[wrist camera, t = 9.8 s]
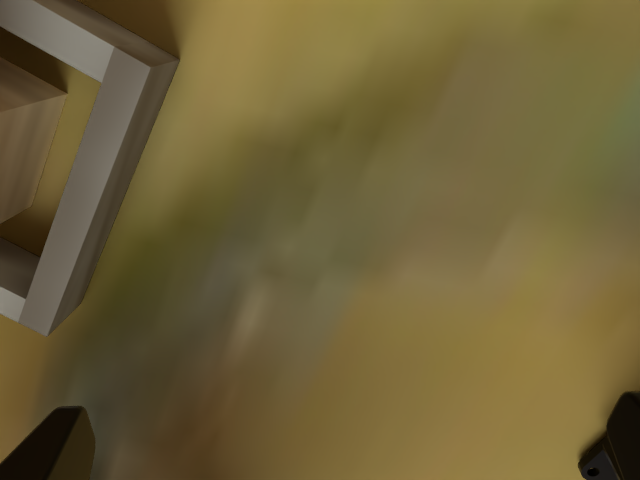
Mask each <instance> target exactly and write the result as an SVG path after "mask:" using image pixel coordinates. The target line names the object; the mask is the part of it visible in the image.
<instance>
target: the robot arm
mask: <svg viewBox="0 0 640 480" xmlns="http://www.w3.org/2000/svg"><path fill="white" fill-rule="evenodd" d="M94 453H95V436H94V433H93V430H92V427H91V423H90V420H89V417H88V414H87V411H86V409H85V408H84V407H82V406H62V407H58V408H56V409H54V410H53V411H52V412H51V413H50V414H49V415H48V416H47V417H46V418H45V419H44V420H43V421H42V422H41V423H40V424H39V425H38V426H37V427H36V428H35V429H34V430H33V431H32V432H31V433H30V434H29V435H28V436H27V437H26V438H25V439H24V440H23V441H22V442H21V443H20V444H19V445H18V446H17V447H16V448H15V449H14V450H13V451H12V452H11V453H10V454H9V455H8V456H7V457H6V458H5V459H4V460H3V461H2V462H1V463H0V480H89V479H90V474H91V469H92V464H93V459H94ZM578 468H579V470H580V472H581V475H582V477H583V478H585V479H586V480H640V391H631V392H625V393H623V394H622V395H621V396H620V398H619V400H618V402H617V403H616V405H615V407H614V409H613V411H612V413H611V415H610V417H609V418H608V421H607V436H606V437H605V438H604V439H603V440H602V441H601V442H600V443H599V444H597V445H596V446H595V447H594V448H593V449H592V450H591V451H590V452H589V453H587V454H586V455H585V456H584V457H583V458H582V459H581V460H580V461H579V463H578ZM590 468H593V469H590Z"/></svg>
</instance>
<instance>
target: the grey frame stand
mask: <svg viewBox="0 0 640 480" xmlns="http://www.w3.org/2000/svg"><path fill="white" fill-rule="evenodd" d="M0 27H2V28H4V29H6V30H8V31H9V32H11V33H13V34H15V35H16V36H18V37H20V38H22V39H24V40H25V41H27V42H29V43H31V44H33V45H34V46H36V47H38V48H40V49H42V50H43V51H45V52H47V53H49V54H50V55H52V56H54V57H56V58H58V59H59V60H61V61H63V62H65V63H67V64H68V65H70V66H72V67H74V68H76V69H77V70H79V71H81V72H83V73H84V74H86V75H88V76H90V77H92V78H93V79H95V80H97V81H99V82H101V86H100V89H99V92H98V95H97V97H96V100H95V103H94V106H93V109H92V112H91V115H90V117H89V120H88V123H87V126H86V129H85V132H84V135H83V138H82V140H81V143H80V146H79V149H78V152H77V155H76V158H75V160H74V163H73V166H72V169H71V172H70V175H69V178H68V180H67V183H66V186H65V189H64V192H63V195H62V198H61V200H60V203H59V206H58V209H57V212H56V215H55V218H54V221H53V223H52V226H51V229H50V232H49V235H48V238H47V241H46V243H45V246H44V249H43V252H42V255H41V258H40V257H38V256H36V255H34V254H32V253H30V252H28V251H26V250H24V249H22V248H20V247H18V246H16V245H14V244H12V243H10V242H8V241H7V240H5V239H3V238H1V237H0V314H2V315H4V316H6V317H8V318H10V319H12V320H14V321H16V322H18V323H20V324H22V325H24V326H26V327H28V328H30V329H32V330H34V331H36V332H38V333H40V334H42V335H44V336H46V337H47V336H48V335H49V334H50V333H51V332H52V331H53V330H54V329H55V328H56V327H57V326H58V325H59V324H60V323H61V322H63V321H64V320H65V319H66V318H67V317H68V316H69V315H70V314H71V313H72V312H73V311H74V310H75V309H76V308H77V307H78V306H79V305H80V304H81V301H82V299H83V297H84V294H85V292H86V289H87V287H88V284H89V282H90V279H91V277H92V274H93V272H94V270H95V267H96V265H97V262H98V260H99V257H100V255H101V252H102V250H103V247H104V245H105V243H106V240H107V238H108V235H109V233H110V230H111V228H112V225H113V223H114V220H115V218H116V216H117V213H118V211H119V208H120V206H121V203H122V201H123V198H124V196H125V193H126V191H127V189H128V186H129V184H130V181H131V179H132V176H133V174H134V171H135V169H136V166H137V164H138V162H139V159H140V157H141V154H142V152H143V149H144V147H145V144H146V142H147V139H148V137H149V135H150V132H151V130H152V127H153V125H154V122H155V120H156V117H157V115H158V112H159V110H160V108H161V105H162V103H163V100H164V98H165V95H166V93H167V90H168V88H169V85H170V83H171V81H172V78H173V76H174V73H175V71H176V68H177V66H178V63H179V61H180V60H179V59H178V58H176V57H174V56H172V55H171V54H169V53H167V52H165V51H164V50H162V49H160V48H158V47H157V46H155V45H153V44H151V43H150V42H148V41H146V40H144V39H143V38H141V37H139V36H138V35H136V34H134V33H132V32H131V31H129V30H127V29H125V28H124V27H122V26H120V25H118V24H117V23H115V22H113V21H111V20H110V19H108V18H106V17H104V16H103V15H101V14H99V13H97V12H96V11H94V10H92V9H90V8H89V7H87V6H85V5H84V4H82V3H80V2H78V1H77V0H0Z"/></svg>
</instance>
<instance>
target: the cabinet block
mask: <svg viewBox="0 0 640 480" xmlns="http://www.w3.org/2000/svg"><path fill="white" fill-rule="evenodd" d="M66 97H67V93H65V92H63V91H61V90H60V89H58V88H56V87H54V86H52V85H50V84H49V83H47V82H45V81H43V80H41V79H39V78H38V77H36V76H34V75H32V74H30V73H29V72H27V71H25V70H23V69H21V68H19V67H18V66H16V65H14V64H12V63H10V62H8V61H7V60H5V59H3V58H1V57H0V224H1V223H2V222H4V221H6V220H8V219H10V218H11V217H13V216H15V215H17V214H18V213H20V212H22V211H24V210H26V209H27V208H29V207H31V206H32V203H33V200H34V197H35V194H36V191H37V188H38V185H39V181H40V178H41V175H42V172H43V169H44V166H45V163H46V160H47V156H48V153H49V150H50V147H51V144H52V141H53V138H54V135H55V131H56V128H57V125H58V122H59V119H60V116H61V113H62V110H63V106H64V103H65V100H66Z"/></svg>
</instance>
